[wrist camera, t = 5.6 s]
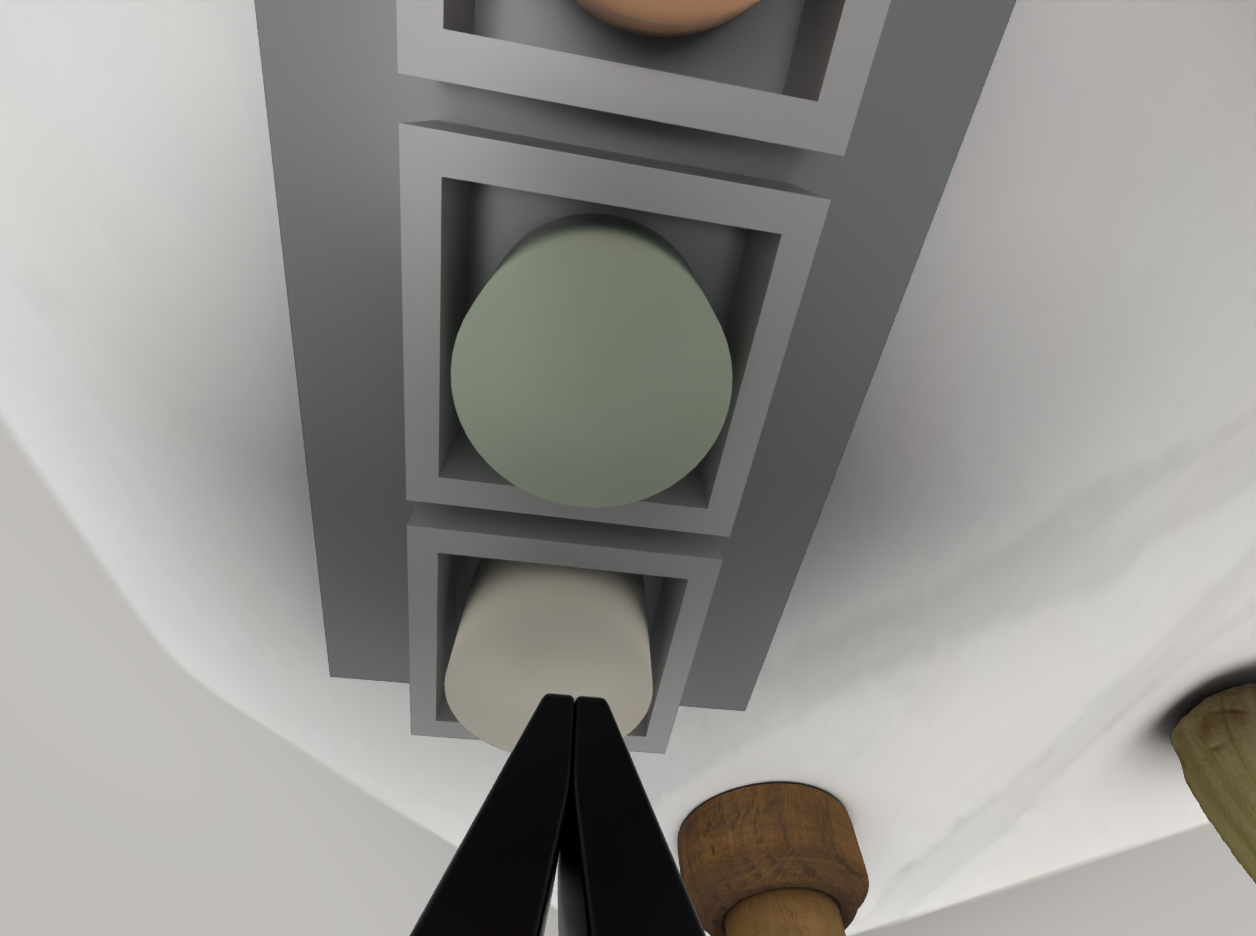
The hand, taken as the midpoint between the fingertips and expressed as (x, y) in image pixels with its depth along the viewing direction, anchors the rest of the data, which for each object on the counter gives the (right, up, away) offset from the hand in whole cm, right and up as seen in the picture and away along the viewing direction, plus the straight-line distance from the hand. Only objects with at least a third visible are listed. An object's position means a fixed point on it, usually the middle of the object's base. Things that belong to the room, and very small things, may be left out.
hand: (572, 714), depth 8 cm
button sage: (0, +6, +4) cm, 7 cm away
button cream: (-1, 0, +7) cm, 7 cm away
